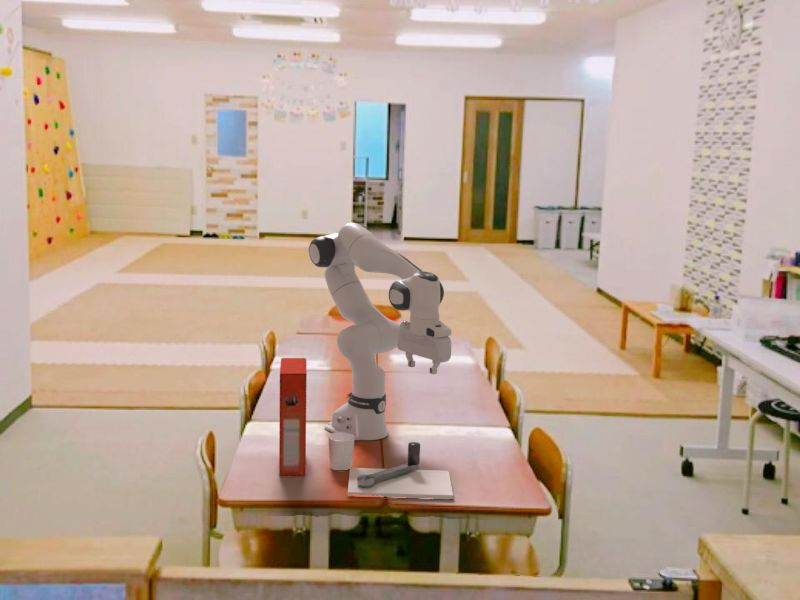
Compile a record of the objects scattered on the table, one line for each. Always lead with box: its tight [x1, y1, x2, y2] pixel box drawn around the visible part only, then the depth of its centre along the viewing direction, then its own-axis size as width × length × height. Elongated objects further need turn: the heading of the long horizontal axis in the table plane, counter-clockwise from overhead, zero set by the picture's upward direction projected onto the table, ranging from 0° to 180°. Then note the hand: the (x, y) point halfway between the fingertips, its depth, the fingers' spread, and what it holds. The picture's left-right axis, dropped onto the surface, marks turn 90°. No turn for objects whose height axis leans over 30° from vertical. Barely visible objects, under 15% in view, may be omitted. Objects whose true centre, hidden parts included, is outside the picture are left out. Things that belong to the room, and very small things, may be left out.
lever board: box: [347, 467, 454, 500], centre depth 256 cm, size 30×18×2 cm, turn 91°
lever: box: [357, 441, 421, 487], centre depth 257 cm, size 23×5×8 cm, turn 133°
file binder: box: [278, 357, 308, 477], centre depth 265 cm, size 8×17×32 cm, turn 6°
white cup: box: [328, 432, 355, 471], centre depth 267 cm, size 8×8×10 cm
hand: (422, 370), depth 265 cm, fingers open, 8 cm apart
